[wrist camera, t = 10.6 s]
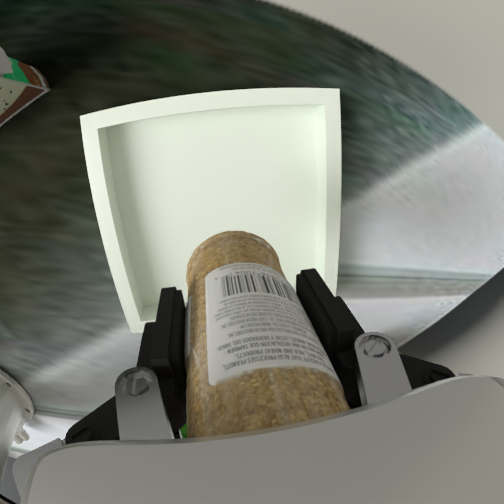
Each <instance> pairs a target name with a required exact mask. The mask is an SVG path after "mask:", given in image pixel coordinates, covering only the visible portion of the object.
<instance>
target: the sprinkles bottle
mask: <svg viewBox="0 0 504 504" xmlns="http://www.w3.org/2000/svg"><path fill="white" fill-rule="evenodd" d="M186 282H187V287H188V301H187V304H186V310H185V331H184V366H185V371H186V374H187V378H186V387H187V389H186V399H187V401H186V410H187V427H188V428H187V438H194V437H206V436H216V435H225V434H233V433H240V432H247V431H254V430H260V429H267V428H272V427H278V426H283V425H288V424H293V423H298V422H303V421H307V420H312V419H316V418H320V417H324V416H328V415H332V414H336V413H340V412H344V411H347V410H351V409H350V407H349V405H348V404H347V401H346V399H345V397H344V390H343V387H342V385H341V383H340V381H339V379H338V376H337V374H336V372H335V370H334V368H333V366H332V364H331V362H330V360H329V358H328V356H327V354H326V352H325V350H324V348H323V346H322V344H321V342H320V340H319V338H318V336H317V334H316V332H315V330H314V328H313V326H312V324H311V322H310V320H309V318H308V316H307V314H306V312H305V310H304V308H303V306H302V304H301V302H300V300H299V298H298V296H297V294H296V292H295V291H294V289H293V287H292V286H291V284H290V283H289V282H288V280H287V279H286V277H285V275H284V273H283V271H282V269H281V265H280V262H279V257H278V255H277V253H276V251H275V250H274V248H273V247H272V246H271V245H270V244H269V243H268V242H267V241H266V240H265V239H263V238H261V237H259V236H257V235H255V234H253V233H247V232H245V231H225V232H221V233H218V234H216V235H213V236H212V237H209V238H207V239H206V240H205V241H204V242H202V243H201V244H200V245H199V246H198V247H196V249H195V250H194V251H193V253H192V255H191V257H190V259H189V262H188V265H187V273H186Z"/></svg>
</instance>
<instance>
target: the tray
mask: <svg viewBox="0 0 504 504" xmlns="http://www.w3.org/2000/svg"><path fill="white" fill-rule="evenodd" d="M80 121H81V130H82V137H83V144H84V151H85V158H86V164H87V170H88V175H89V181H90V186H91V191H92V196H93V201H94V206H95V210H96V215H97V219H98V224H99V228H100V232H101V236H102V240H103V244H104V248H105V251H106V255H107V259H108V262H109V266H110V269H111V273H112V276H113V280H114V283H115V286H116V289H117V293H118V296H119V299H120V302H121V305H122V308H123V311H124V314H125V317H126V320H127V323H128V325H129V328H130V331H131V334H132V333H143V331H144V326H145V323H146V322H155V321H156V315H157V310H158V304H159V299H160V293H161V289H162V288H167V287H176V289H177V290H182V294H183V298H184V303H185V307H186V304H187V301H188V287H187V282H186V273H187V265H188V262H189V259H190V257H191V255H192V253H193V251H194V250H195V249H196V247H198V246H199V245H200V244H201V243H202V242H204V241H205V240H206V239H207V238H209V237H212V236H213V235H216V234H218V233H221V232H225V231H245V232H247V233H253V234H255V235H257V236H259V237H261V238H263V239H265V240H266V241H267V242H268V243H269V244H270V245H271V246H272V247H273V248H274V250H275V251H276V253H277V255H278V257H279V262H280V265H281V269H282V271H283V273H284V275H285V277H286V279H287V280H288V282H289V283H290V284H291V286H292V287H293V289H294V291H295V292H296V275H297V274H300V272H301V270H305V269H312V268H315V269H316V270H317V272H318V273H319V274H320V276H321V277H322V279H323V280H324V282H325V283H326V285H327V286H328V288H329V289H330V291H331V292H332V294H333V295H334V297H336V288H337V275H338V260H339V242H340V219H341V114H340V91H339V89H330V88H260V89H241V90H228V91H216V92H206V93H197V94H189V95H182V96H174V97H168V98H161V99H155V100H150V101H144V102H139V103H134V104H129V105H124V106H119V107H115V108H110V109H106V110H102V111H98V112H94V113H90V114H86V115H82V116H80Z"/></svg>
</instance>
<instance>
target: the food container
mask: <svg viewBox="0 0 504 504" xmlns="http://www.w3.org/2000/svg"><path fill="white" fill-rule="evenodd" d="M49 90H51V89H50V87H49V85H48V82H47V80H46V78H45V77H44V76H43V75H42V74H41V73H40V72H39V70H38V69H37V68H34V67H32V66H29V65H27V64H24V63H22V62H20V61H17V60H15V59H12V58H9V57H7V55H6V54H5V52H4V50H3V49H2V48H1V47H0V127H1V126H2V125H3V124H4V123H6V122H7V121H8V120H9V119H11V118H12V117H13V116H14V115H16V114H17V113H18V112H20V111H21V110H22V109H24V108H25V107H26V106H28V105H29V104H30V103H32V102H33V101H35V100H36V99H38V98H39V97H40V96H42V95H43V94H45V93H46V92H48V91H49Z"/></svg>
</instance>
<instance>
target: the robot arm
mask: <svg viewBox="0 0 504 504" xmlns="http://www.w3.org/2000/svg"><path fill="white" fill-rule="evenodd" d="M296 294H297V296H298V298H299V300H300V302H301V304H302V306H303V308H304V310H305V312H306V314H307V316H308V318H309V320H310V322H311V324H312V326H313V328H314V330H315V332H316V334H317V336H318V338H319V340H320V342H321V344H322V346H323V348H324V350H325V352H326V354H327V356H328V358H329V360H330V362H331V364H332V366H333V368H334V370H335V372H336V374H337V376H338V379H339V381H340V383H341V385H342V387H343V390H344V397H345V399H346V401H347V404H348V405H349V407H350V409H351V410H347V411H344V412H340V413H336V414H332V415H328V416H324V417H320V418H316V419H312V420H307V421H303V422H298V423H293V424H288V425H283V426H278V427H272V428H267V429H260V430H254V431H247V432H240V433H233V434H225V435H216V436H206V437H194V438H182V435H181V432H180V429H181V428H182V427H183V426H184V425H185V424H187V410H186V401H187V399H186V389H187V387H186V378H187V374H186V371H185V366H184V331H185V310H186V307H185V303H184V298H183V294H182V290H177V289H176V287H167V288H162V289H161V293H160V299H159V304H158V310H157V315H156V321H155V322H146V323H145V326H144V331H143V336H142V341H141V346H140V351H139V356H138V362H137V367H135V368H131V369H128V370H126V371H125V372H123V373H122V374H121V375H120V376H119V377H118V378H117V380H116V382H115V396H114V397H112V398H111V399H110V400H108V401H107V402H105V403H104V404H103V405H101V406H100V407H98V408H97V409H95V410H94V411H93V412H91V413H90V414H88V415H87V416H86V417H84V418H83V419H81V420H80V421H78V422H77V423H76V424H74V425H73V426H72V427H71V428H70V429H69V430H68V432H67V433H66V437H65V439H63V440H61V439H60V438H58V439H56V440H54V441H52V442H49V443H47V444H45V445H43V446H41V447H39V448H37V449H35V450H33V451H30V452H28V453H26V454H24V455H22V456H20V457H19V458H17V459H16V461H15V462H14V464H13V468H12V470H13V476H14V479H15V482H16V485H17V488H18V491H19V494H20V497H21V504H504V380H503V379H501V378H498V377H489V376H484V375H471V374H462V373H458V375H457V376H455V375H454V373H453V372H452V371H451V370H449V369H448V368H447V367H444V366H442V365H438V364H434V363H431V362H427V361H424V360H421V359H417V358H414V357H410V356H407V355H404V354H400V353H398V350H397V348H396V345H395V343H394V341H393V340H392V339H391V338H390V337H389V336H387V335H385V334H382V333H378V332H369V333H365V332H364V330H363V329H362V328H361V326H360V325H359V323H358V322H357V320H356V319H355V317H354V316H353V314H352V313H351V311H350V310H349V308H348V307H347V305H346V304H345V303H344V301H343V300H342V298H341V297H340V296H336V297H334V295H333V294H332V292H331V291H330V289H329V288H328V286H327V285H326V283H325V282H324V280H323V279H322V277H321V276H320V274H319V273H318V272H317V270H316V269H315V268H312V269H305V270H301V272H300V274H297V275H296ZM33 413H34V406H33V403H32V401H31V399H30V397H29V396H28V394H27V393H26V391H25V390H24V389H23V388H22V387H21V386H20V385H19V384H18V383H17V382H16V381H15V380H14V379H13V378H12V377H11V376H9V375H8V374H7V373H5V372H4V371H3V370H1V369H0V483H1V480H2V476H3V472H4V468H5V465H6V461H7V458H8V455H9V452H10V448H11V445H12V442H13V440H14V441H15V442H16V443H17V444H21V443H22V442H23V440H25V441H27V440H28V439H29V437H30V436H29V434H28V433H27V432H26V431H25V430H24V429H23V425H24V422H26V421H29V420H31V418H32V416H33Z"/></svg>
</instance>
